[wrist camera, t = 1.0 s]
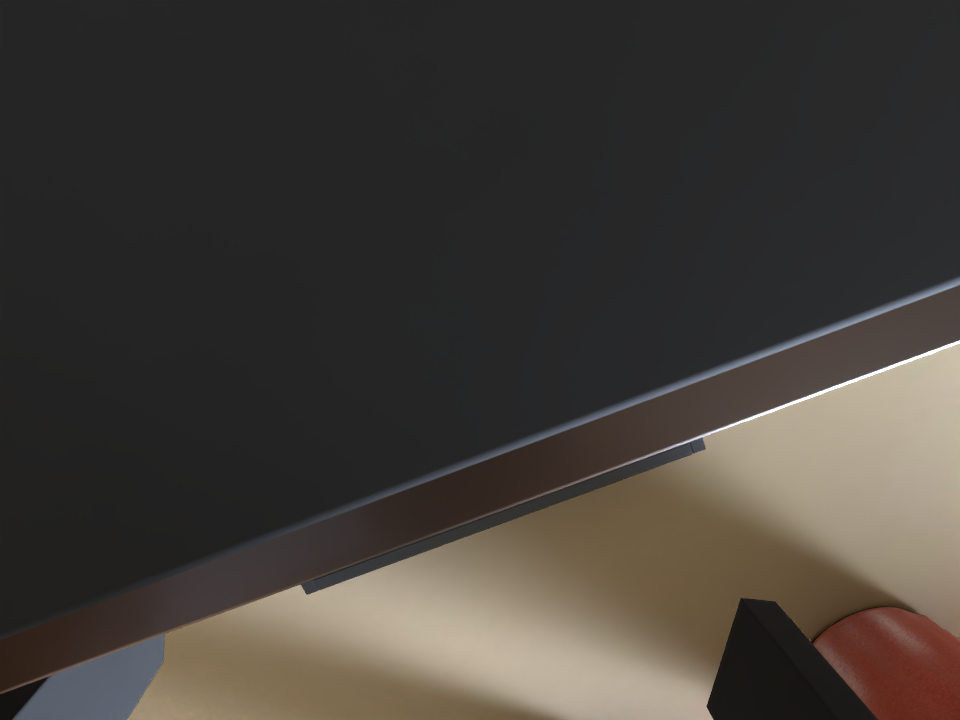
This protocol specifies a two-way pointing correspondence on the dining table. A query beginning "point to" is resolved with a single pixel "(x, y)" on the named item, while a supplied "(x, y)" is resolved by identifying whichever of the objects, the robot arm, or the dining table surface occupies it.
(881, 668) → the flower pot
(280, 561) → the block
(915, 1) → the black box
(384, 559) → the dark gray rectangular tray
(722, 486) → the dining table surface
